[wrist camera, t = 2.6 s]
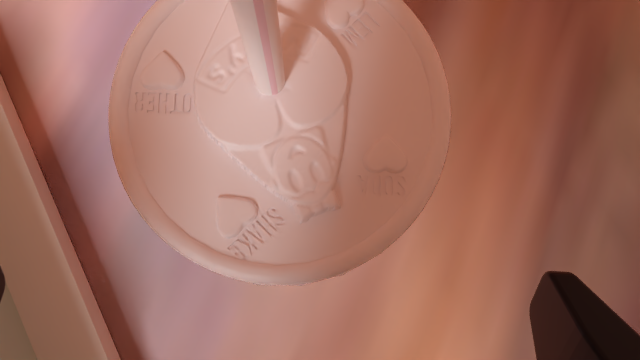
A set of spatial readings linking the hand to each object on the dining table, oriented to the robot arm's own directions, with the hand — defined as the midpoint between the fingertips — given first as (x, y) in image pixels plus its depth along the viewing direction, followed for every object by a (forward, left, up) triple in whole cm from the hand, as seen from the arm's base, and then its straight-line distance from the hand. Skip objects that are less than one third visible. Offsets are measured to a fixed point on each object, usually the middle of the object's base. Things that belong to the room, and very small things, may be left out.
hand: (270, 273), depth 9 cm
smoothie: (+2, -2, -10) cm, 11 cm away
